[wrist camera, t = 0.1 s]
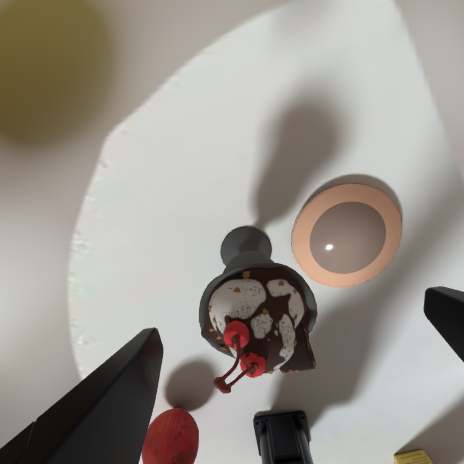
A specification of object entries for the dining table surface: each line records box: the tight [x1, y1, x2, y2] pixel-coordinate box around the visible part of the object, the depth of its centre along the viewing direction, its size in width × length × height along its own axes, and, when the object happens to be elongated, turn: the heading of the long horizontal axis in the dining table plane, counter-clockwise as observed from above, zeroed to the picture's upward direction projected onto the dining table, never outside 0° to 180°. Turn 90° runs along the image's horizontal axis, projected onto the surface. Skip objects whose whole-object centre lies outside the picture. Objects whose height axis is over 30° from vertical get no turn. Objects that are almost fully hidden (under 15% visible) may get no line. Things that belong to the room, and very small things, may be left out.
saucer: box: [291, 184, 402, 287], centre depth 22 cm, size 10×10×1 cm
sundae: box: [199, 227, 317, 393], centre depth 16 cm, size 7×7×15 cm
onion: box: [142, 407, 199, 464], centre depth 25 cm, size 6×6×8 cm
